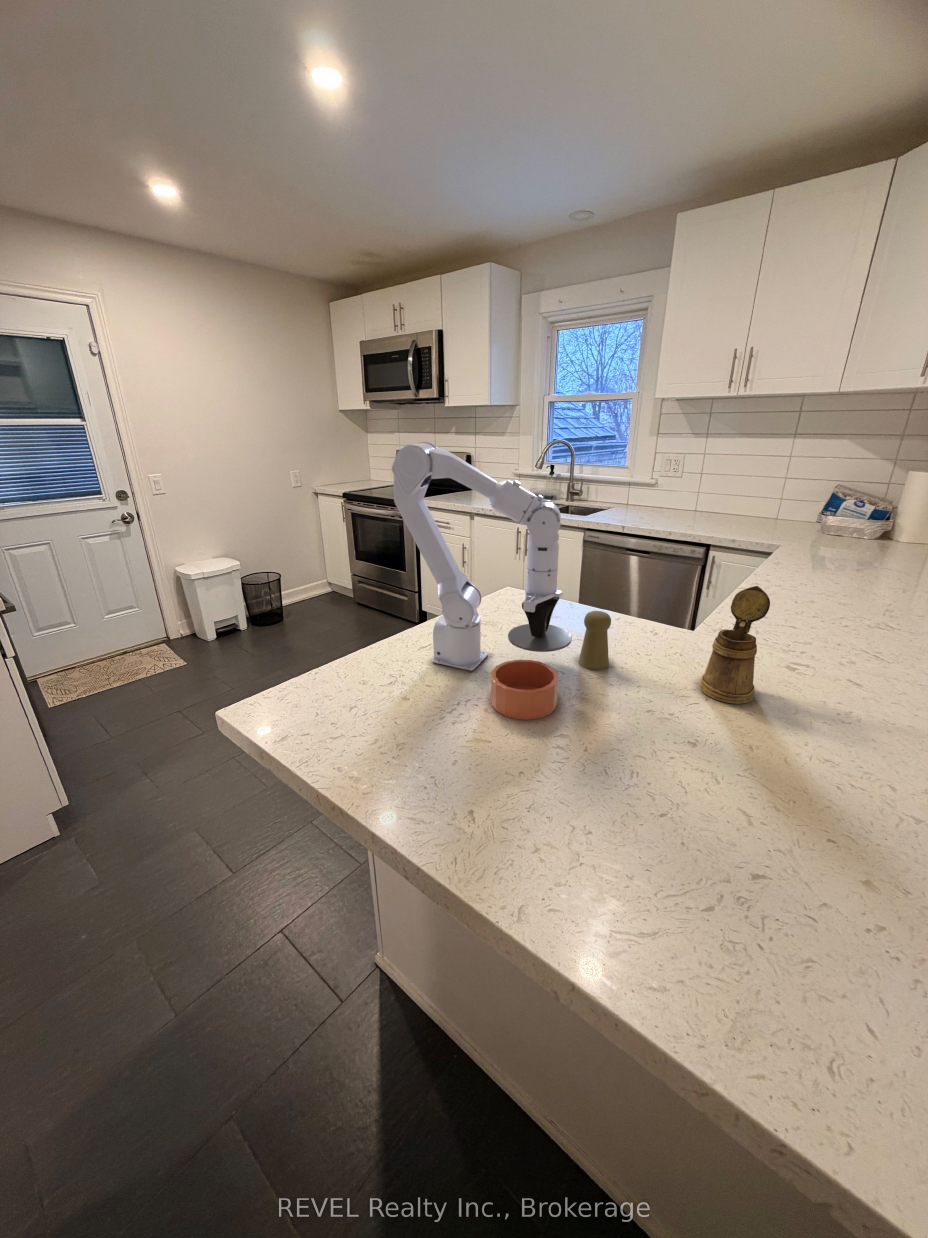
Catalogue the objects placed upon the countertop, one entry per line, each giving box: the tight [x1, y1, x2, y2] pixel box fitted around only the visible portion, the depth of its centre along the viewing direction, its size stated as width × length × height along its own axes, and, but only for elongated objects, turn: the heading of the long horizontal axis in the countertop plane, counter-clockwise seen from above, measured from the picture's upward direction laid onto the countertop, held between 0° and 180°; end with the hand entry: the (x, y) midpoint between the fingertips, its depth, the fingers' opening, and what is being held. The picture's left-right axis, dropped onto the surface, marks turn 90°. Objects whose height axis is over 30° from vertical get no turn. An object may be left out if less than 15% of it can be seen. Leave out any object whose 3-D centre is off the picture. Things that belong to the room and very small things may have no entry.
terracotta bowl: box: [490, 659, 559, 721], centre depth 88 cm, size 12×12×5 cm
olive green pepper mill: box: [578, 610, 612, 670], centre depth 100 cm, size 6×6×11 cm
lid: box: [507, 623, 573, 653], centre depth 98 cm, size 13×13×4 cm
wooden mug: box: [699, 585, 771, 705], centre depth 89 cm, size 9×14×18 cm, turn 140°
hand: (539, 633), depth 98 cm, fingers closed on lid, 2 cm apart
